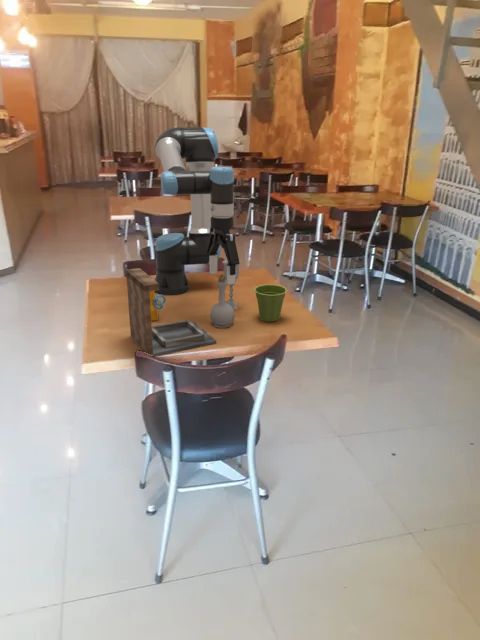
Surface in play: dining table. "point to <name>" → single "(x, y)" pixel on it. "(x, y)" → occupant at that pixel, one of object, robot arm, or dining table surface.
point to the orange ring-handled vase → (155, 305)
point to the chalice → (231, 301)
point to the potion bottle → (222, 307)
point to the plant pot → (270, 301)
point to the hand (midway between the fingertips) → (222, 278)
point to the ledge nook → (158, 336)
